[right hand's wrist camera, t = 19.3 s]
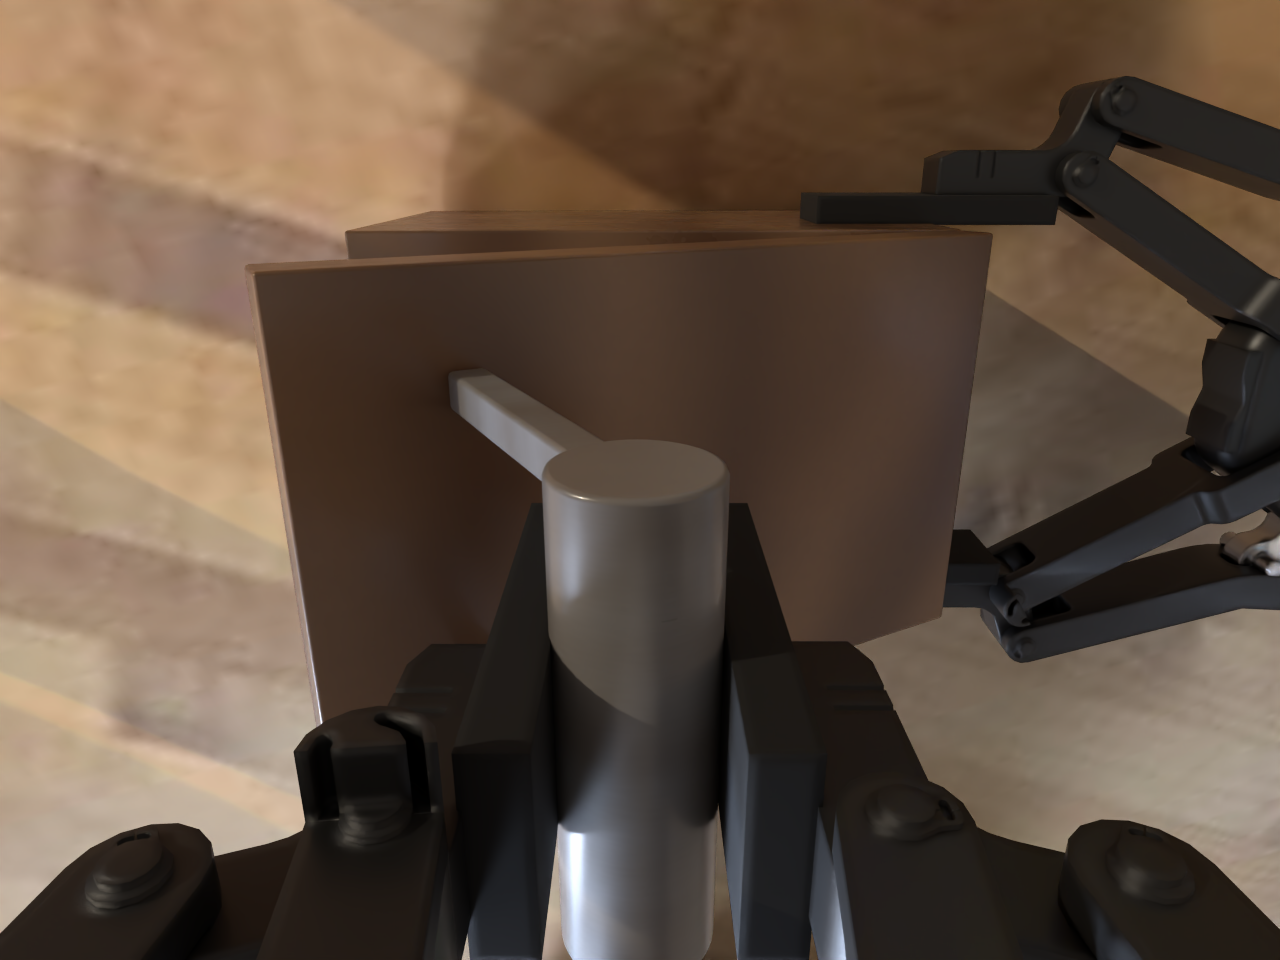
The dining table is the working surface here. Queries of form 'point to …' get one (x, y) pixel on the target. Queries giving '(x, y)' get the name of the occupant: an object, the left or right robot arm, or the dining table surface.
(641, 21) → the dining table surface
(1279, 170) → the left robot arm
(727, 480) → the lid
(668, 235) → the chest
